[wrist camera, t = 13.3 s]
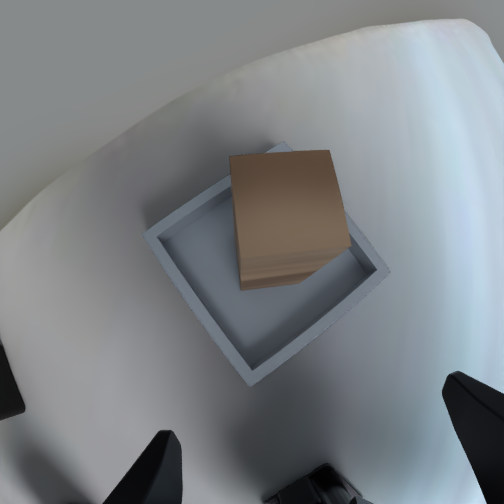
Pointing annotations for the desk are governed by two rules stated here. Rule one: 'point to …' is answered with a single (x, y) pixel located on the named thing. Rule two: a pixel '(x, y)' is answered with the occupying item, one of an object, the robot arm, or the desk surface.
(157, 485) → the robot arm
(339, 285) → the tray
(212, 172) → the desk surface
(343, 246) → the walnut block
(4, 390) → the battery
